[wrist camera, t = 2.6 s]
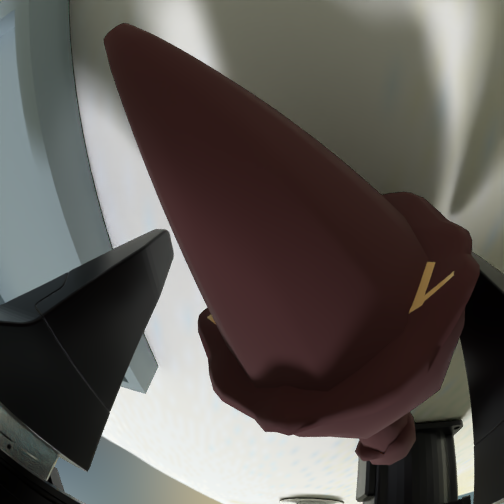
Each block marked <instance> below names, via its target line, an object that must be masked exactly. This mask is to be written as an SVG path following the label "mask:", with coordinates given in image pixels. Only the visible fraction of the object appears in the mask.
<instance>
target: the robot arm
mask: <svg viewBox="0 0 504 504" xmlns="http://www.w3.org/2000/svg"><path fill="white" fill-rule="evenodd" d="M173 255H174V253H173V247H172V243H171V238H170V234H169V232H168V231H167V230H165V229H155V230H153V231H150V232H148V233H146V234H144V235H142V236H140V237H138V238H135V239H133V240H131V241H129V242H127V243H125V244H123V245H121V246H119V247H117V248H115V249H112V250H110V251H108V252H106V253H104V254H102V255H100V256H98V257H96V258H94V259H92V260H90V261H88V262H86V263H84V264H82V265H80V266H78V267H76V268H74V269H72V270H71V271H69V273H68V272H67V273H65V274H63V275H61V276H59V277H57V278H55V279H53V280H51V281H49V282H47V283H45V284H43V285H41V286H39V287H37V288H35V289H33V290H31V291H29V292H27V293H24V294H22V295H20V296H18V297H16V298H14V299H12V300H10V301H8V302H6V303H4V304H1V305H0V504H85V503H83V502H81V501H79V500H77V499H76V498H74V497H72V496H71V495H69V494H67V493H65V492H64V489H63V486H62V483H61V480H60V477H59V473H58V470H57V468H55V467H54V466H55V464H56V462H57V459H58V457H60V458H62V459H64V460H66V461H67V462H69V463H71V464H73V465H75V466H77V467H79V468H81V469H82V470H84V471H88V470H89V468H90V466H91V462H92V460H93V457H94V454H95V451H96V449H97V445H98V443H99V440H100V437H101V435H102V432H103V430H104V427H105V424H106V422H107V419H108V417H109V414H110V411H111V409H112V406H113V403H114V401H115V398H116V396H117V393H118V391H119V389H120V386H121V384H122V381H123V379H124V376H125V374H126V372H127V369H128V367H129V365H130V362H131V360H132V358H133V355H134V353H135V351H136V348H137V346H138V344H139V341H140V339H141V337H142V335H143V332H144V330H145V328H146V326H147V324H148V321H149V319H150V317H151V315H152V313H153V310H154V308H155V306H156V304H157V302H158V299H159V297H160V295H161V292H162V289H163V286H164V283H165V280H166V277H167V275H168V272H169V269H170V266H171V263H172V260H173ZM471 255H472V256H473V257H474V259H475V260H476V261H477V263H478V264H479V265H480V275H479V277H478V280H477V282H476V285H475V287H474V290H473V292H472V294H471V296H470V298H469V300H468V302H467V304H466V306H465V321H464V327H463V330H462V332H461V335H460V340H461V345H462V350H463V355H464V361H465V366H466V372H467V379H468V386H469V393H470V401H471V411H472V421H473V435H474V445H475V446H474V502H473V504H500V503H503V502H504V274H503V273H502V272H500V271H499V270H498V269H496V268H495V267H493V266H492V265H491V264H489V263H488V262H487V261H485V260H484V259H482V258H481V257H479V256H478V255H477V254H475V253H474V252H472V253H471ZM462 427H463V422H462V420H455V421H447V422H437V423H424V424H415V433H416V440H415V442H414V444H413V446H412V447H411V449H410V451H409V453H408V454H407V456H406V457H404V458H403V459H401V460H399V461H397V462H395V463H393V464H391V465H374V464H372V463H371V462H370V461H362V460H361V459H360V458H359V461H358V478H357V491H356V500H357V501H358V502H363V504H471V500H470V495H468V496H465V497H463V498H462V499H459V500H458V485H457V468H456V456H455V446H454V438H453V435H455V434H456V433H457V432H458V431H459V430H460V429H461V428H462Z"/></svg>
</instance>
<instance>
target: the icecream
mask: <svg viewBox="0 0 504 504" xmlns="http://www.w3.org/2000/svg"><path fill="white" fill-rule="evenodd" d="M104 45H105V49H106V53H107V57H108V61H109V64H110V68H111V72H112V75H113V78H114V81H115V84H116V87H117V90H118V92H119V95H120V98H121V101H122V104H123V107H124V110H125V112H126V115H127V118H128V121H129V123H130V126H131V129H132V131H133V134H134V137H135V139H136V142H137V145H138V147H139V150H140V153H141V155H142V158H143V160H144V163H145V165H146V168H147V171H148V173H149V176H150V178H151V181H152V183H153V185H154V188H155V190H156V193H157V195H158V198H159V200H160V203H161V205H162V207H163V210H164V212H165V214H166V217H167V219H168V221H169V224H170V226H171V228H172V231H173V233H174V235H175V238H176V240H177V242H178V244H179V247H180V249H181V251H182V253H183V256H184V258H185V260H186V262H187V264H188V267H189V269H190V271H191V273H192V275H193V277H194V280H195V282H196V284H197V286H198V288H199V290H200V292H201V295H202V297H203V299H204V301H205V303H206V305H207V307H208V308H207V309H205V310H204V311H203V312H202V313H201V314H200V315H199V318H198V333H199V335H200V338H201V341H202V344H203V347H204V349H205V352H206V355H207V357H208V364H209V375H210V379H211V382H212V386H213V390H214V391H215V393H216V394H217V395H218V396H219V398H220V399H221V400H222V401H223V402H225V403H227V404H228V405H230V406H232V407H234V408H235V409H237V410H239V411H241V412H242V413H244V414H246V415H248V416H249V417H251V418H253V419H255V420H256V422H257V423H258V424H259V425H260V426H261V428H262V429H263V430H264V431H265V432H278V433H282V434H285V435H293V434H294V435H296V436H299V437H329V436H330V437H343V438H359V439H360V440H359V443H358V445H357V448H356V450H355V452H356V454H357V455H358V457H359V458H360V459H361V460H362V461H370V462H371V463H372V464H374V465H391V464H393V463H395V462H397V461H399V460H401V459H403V458H404V457H406V456H407V454H408V453H409V451H410V449H411V447H412V446H413V444H414V442H415V440H416V433H415V424H414V417H413V416H412V414H411V413H410V411H411V410H413V409H414V408H416V407H417V406H418V405H420V404H421V403H423V402H424V401H425V400H427V399H428V398H429V397H431V396H432V395H433V394H435V393H436V392H437V391H438V390H440V388H441V385H442V383H443V380H444V378H445V375H446V372H447V370H448V367H449V364H450V361H451V358H452V355H453V352H454V350H455V347H456V345H457V343H458V340H459V337H460V335H461V332H462V330H463V327H464V321H465V306H466V304H467V302H468V300H469V298H470V296H471V294H472V292H473V290H474V287H475V285H476V282H477V280H478V277H479V275H480V265H479V264H478V263H477V261H476V260H475V259H474V257H473V256H472V255H471V253H472V238H471V236H470V234H469V231H467V230H466V229H464V228H463V227H461V226H459V225H457V224H455V223H453V222H451V221H449V220H448V219H446V218H445V217H444V216H443V215H442V214H441V213H440V212H439V211H438V210H437V209H436V208H435V207H433V206H432V205H431V204H430V203H429V202H428V201H427V200H426V199H424V198H423V197H420V196H418V195H415V194H413V193H409V192H397V193H388V194H384V195H381V194H380V193H379V192H378V191H377V190H375V189H374V188H373V187H372V186H371V185H370V184H369V183H368V182H366V181H365V180H364V179H363V178H362V177H361V176H360V175H358V174H357V173H356V172H355V171H354V170H353V169H351V168H350V167H349V166H348V165H347V164H346V163H344V162H343V161H342V160H341V159H340V158H338V157H337V156H336V155H335V154H333V153H332V152H331V151H330V150H328V149H327V148H326V147H325V146H323V145H322V144H321V143H320V142H318V141H317V140H316V139H315V138H313V137H312V136H311V135H309V134H308V133H307V132H305V131H304V130H303V129H301V128H300V127H299V126H297V125H296V124H295V123H293V122H292V121H291V120H289V119H288V118H287V117H285V116H284V115H282V114H281V113H280V112H278V111H277V110H275V109H274V108H272V107H271V106H270V105H268V104H267V103H265V102H264V101H262V100H261V99H259V98H258V97H256V96H255V95H253V94H252V93H250V92H249V91H247V90H246V89H244V88H243V87H241V86H240V85H238V84H237V83H235V82H233V81H232V80H230V79H229V78H227V77H225V76H224V75H222V74H221V73H219V72H218V71H216V70H214V69H213V68H211V67H210V66H208V65H206V64H205V63H203V62H201V61H200V60H198V59H196V58H195V57H193V56H191V55H189V54H188V53H186V52H184V51H183V50H181V49H179V48H177V47H175V46H174V45H172V44H170V43H168V42H166V41H165V40H163V39H161V38H159V37H157V36H155V35H153V34H151V33H149V32H146V31H144V30H142V29H139V28H137V27H135V26H133V25H130V24H128V23H122V24H120V25H118V26H116V27H115V28H113V29H112V30H111V31H110V32H109V33H108V34H107V35H106V36H105V38H104Z"/></svg>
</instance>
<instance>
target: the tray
mask: <svg viewBox="0 0 504 504" xmlns="http://www.w3.org/2000/svg"><path fill="white" fill-rule="evenodd" d="M110 250H112V247H111V244H110V241H109V237H108V234H107V231H106V227H105V224H104V221H103V217H102V214H101V210H100V206H99V203H98V199H97V195H96V191H95V187H94V183H93V179H92V175H91V171H90V166H89V162H88V157H87V153H86V148H85V143H84V138H83V133H82V128H81V122H80V116H79V110H78V104H77V97H76V90H75V82H74V74H73V65H72V55H71V43H70V27H69V0H2V1H1V2H0V305H1V304H4V303H6V302H8V301H10V300H12V299H14V298H16V297H18V296H20V295H22V294H24V293H27V292H29V291H31V290H33V289H35V288H37V287H39V286H41V285H43V284H45V283H47V282H49V281H51V280H53V279H55V278H57V277H59V276H61V275H63V274H65V273H67V272H68V273H69V271H71V270H72V269H74V268H76V267H78V266H80V265H82V264H84V263H86V262H88V261H90V260H92V259H94V258H96V257H98V256H100V255H102V254H104V253H106V252H108V251H110ZM157 368H158V365H157V363H156V361H155V359H154V357H153V354H152V352H151V350H150V348H149V345H148V343H147V341H146V338H145V336H144V334H143V335H142V337H141V339H140V341H139V344H138V346H137V348H136V351H135V353H134V355H133V358H132V360H131V362H130V365H129V367H128V369H127V372H126V374H125V376H124V379H123V381H122V384H121V387H124V388H128V389H131V390H134V391H138V392H141V393H145V394H146V392H147V390H148V387H149V385H150V383H151V381H152V379H153V377H154V375H155V373H156V370H157Z"/></svg>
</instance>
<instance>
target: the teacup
mask: <svg viewBox="0 0 504 504" xmlns="http://www.w3.org/2000/svg"><path fill="white" fill-rule="evenodd" d="M279 502H280V503H282V504H344V503H342V502H339V501H333V500H322V499H285V500H281V501H279Z"/></svg>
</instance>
